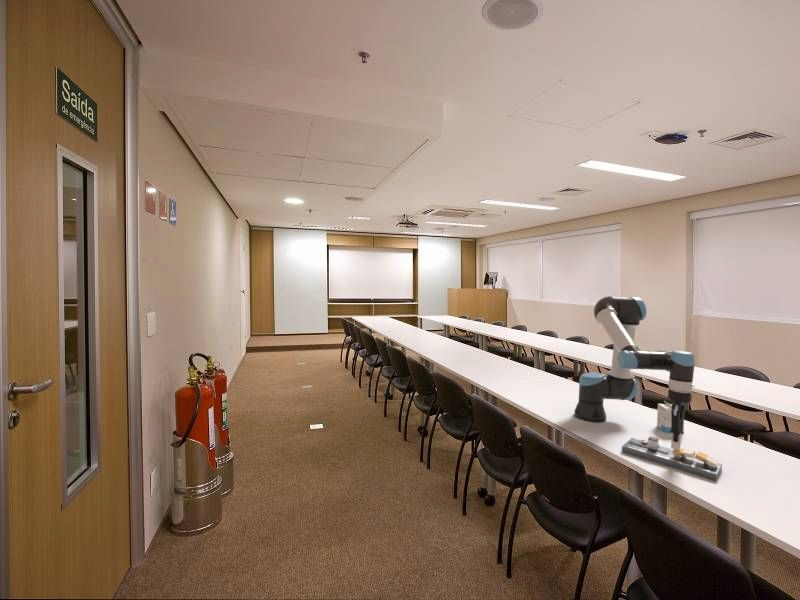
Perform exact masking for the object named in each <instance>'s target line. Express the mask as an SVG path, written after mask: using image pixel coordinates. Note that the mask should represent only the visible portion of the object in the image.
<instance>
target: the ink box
mask: <svg viewBox="0 0 800 600" xmlns="http://www.w3.org/2000/svg"><path fill="white" fill-rule="evenodd" d="M663 402H664V403H657V416H656V417H657V418H656V427H657V428H659V429H660V430H661V431H663V432H664V433H669V434H672V432H670V430H671V419H672V414H671V410H672V403H671V404H670V403H669V402H666V401H665V400H664V401H663ZM684 427H685V422H684V423H683V430H682V431H684V432H685V430H684ZM682 434H684V433H681V435H682Z"/></svg>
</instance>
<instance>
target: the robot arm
mask: <svg viewBox="0 0 800 600" xmlns="http://www.w3.org/2000/svg"><path fill="white" fill-rule="evenodd" d="M593 315H594V318H595V320H596V321H597V323H598V324H600V325H602V327H603V329H604V330H605V332H606V333H607V335H608V337H609V339H610V340H611V342H612V343H613V349H612V359H611V369H610V370H608V371H607V375H606V376H605V374H604V373H602V372H593V371H592V372H585V373H582V374H581V375H580V376H579V381H578V401H577V404H576V406H575V409H574V415H573V416H574V417H575V418H576V419H579V420H581V421H584V422H589V423H596V424H597V423H605V422H606V421H607V414H606V410H605V407H604V400H618V401H625V400H628V401H629V400H631V399H633V398H634V397H635V396H636V394H637V391H638V384H637V380H636V379H635V378H634V375H633V374H632V372H631V370H651V371H652V370H653V371H654V370H655V371H666V372H669V378H668V388H669V389H668V390H667V391H668V393H667V398H668V399H669V400H670V401H673V403H671V405H672V410H671V414H672V419H671V430H670V432H672V433H671V442H670V443H671V445H670V449H673V450H674V449H675V450H680V448H681V447H682V446H681V444H682V443H681V441H682V434H681V433H683V434H684V433H685V430H684V431H682V430H683V423H684V424H685V413H686V409H687V405H685V404H686V403H687V404H689V403H692V397H693V393H692V392H693V388H695V384H693V380H694V373H695V372H694V371H695V365H696V363H695V355H694V353H692V352H691V351H684V350H672V351H671V352H668V351H666V350H655V351H647V350H645V351H644V350H643V351H642V350H641V349H640V348H639V347H638V346H637V344H636V342H635V335H636V328H637V327H639V325H640V323H641V321H643V320H645V318H646V317H647V306H646V304H645V302H644V301H643V299H642V298H640V297H638V296H637V297H636V296H613V295H612V296H611V295H610V296H609V295H608V296H605V297H602V298H600V299H599V300H598V301H597V302H596V304H595V305H594V309H593Z"/></svg>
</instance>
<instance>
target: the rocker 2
mask: <svg viewBox="0 0 800 600" xmlns="http://www.w3.org/2000/svg"><path fill="white" fill-rule="evenodd" d="M695 458H696V459H698V460H700V461H702V462H704V463H706V464H708V465H710V466H712V467H714V468H715V467H716V465H717V463H718V462H719V460H718V459H716V458H714V457H712V456H710V455H708V454H706V453H704V452H702V451H699V450H698V451H697V452H696V453H695Z"/></svg>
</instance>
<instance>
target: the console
mask: <svg viewBox="0 0 800 600" xmlns="http://www.w3.org/2000/svg"><path fill="white" fill-rule="evenodd" d="M673 450H674V449H672V448H669V447H665V446H661V445H660V444H659V443H658V449H657V450H653V449H649V448H648V440H646V439H641V440H640V439H637V438H634V437H631V438H630V439H628V440H627V441H626V442H625V443H624V444H623V445H621V453H624V454H628V455H631V456H633V457H637V458H641V459H643V460H645V461H650V462H653V463H657V464H660V465H664V466H667V467H669V468H673V469H677V470H679V471H682V472H685V473H688V474H691V475H696V476H699V477H702V478H704V479H705V478H706V479H708V480H712V481H715V482H717V480H718V478H719V477H720V475H721V473H722V469H723V463H722V462H719V461H718V463H717V465H716V467H715V468H714V467H712V466H710V465H708V464H706V463H704V462H702V461H700V460H698V459H696V458H695V456H694V457H693V458H689V457H682V456H676V455H673Z"/></svg>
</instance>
